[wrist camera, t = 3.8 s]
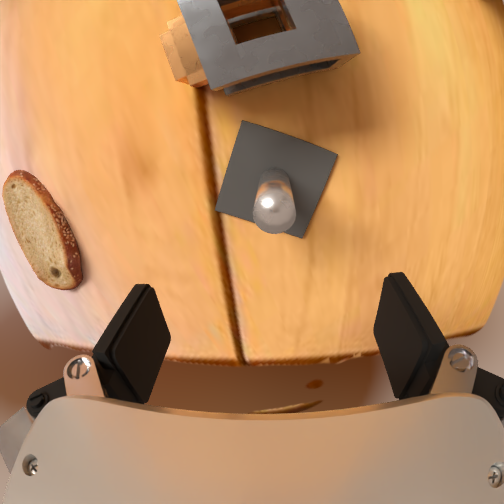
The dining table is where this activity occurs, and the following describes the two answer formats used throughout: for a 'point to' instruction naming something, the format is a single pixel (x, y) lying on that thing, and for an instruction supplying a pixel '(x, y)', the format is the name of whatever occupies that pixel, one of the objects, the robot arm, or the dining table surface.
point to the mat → (268, 156)
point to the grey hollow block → (255, 42)
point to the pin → (274, 202)
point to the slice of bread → (42, 231)
